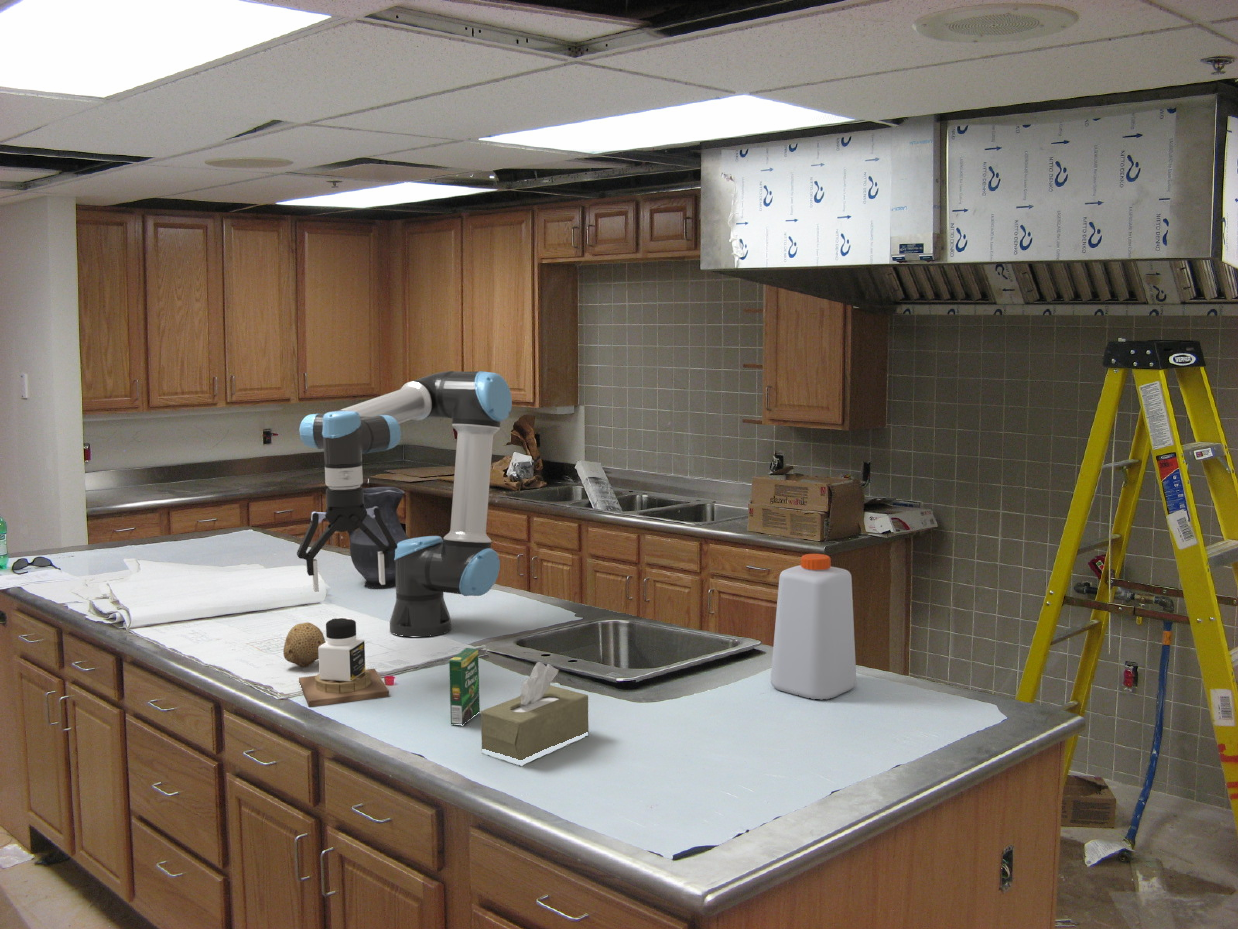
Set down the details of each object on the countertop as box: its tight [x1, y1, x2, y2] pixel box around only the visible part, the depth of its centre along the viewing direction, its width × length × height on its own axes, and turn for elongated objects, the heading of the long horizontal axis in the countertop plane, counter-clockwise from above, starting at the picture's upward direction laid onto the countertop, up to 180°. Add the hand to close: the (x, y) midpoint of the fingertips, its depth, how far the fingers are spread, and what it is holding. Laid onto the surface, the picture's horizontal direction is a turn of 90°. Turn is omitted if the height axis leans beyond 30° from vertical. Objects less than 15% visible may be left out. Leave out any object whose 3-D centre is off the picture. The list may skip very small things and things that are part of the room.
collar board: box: [298, 668, 390, 708], centre depth 231 cm, size 16×16×3 cm
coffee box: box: [448, 647, 481, 725], centre depth 213 cm, size 8×3×13 cm, turn 163°
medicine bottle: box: [318, 617, 366, 682], centre depth 230 cm, size 7×7×12 cm
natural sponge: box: [283, 622, 326, 668], centre depth 246 cm, size 9×9×10 cm
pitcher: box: [346, 486, 410, 590], centre depth 321 cm, size 17×21×30 cm
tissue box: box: [480, 661, 589, 760], centre depth 200 cm, size 19×10×16 cm, turn 141°
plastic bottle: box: [770, 553, 857, 701], centre depth 230 cm, size 15×15×28 cm
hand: (349, 586), depth 231 cm, fingers open, 13 cm apart
